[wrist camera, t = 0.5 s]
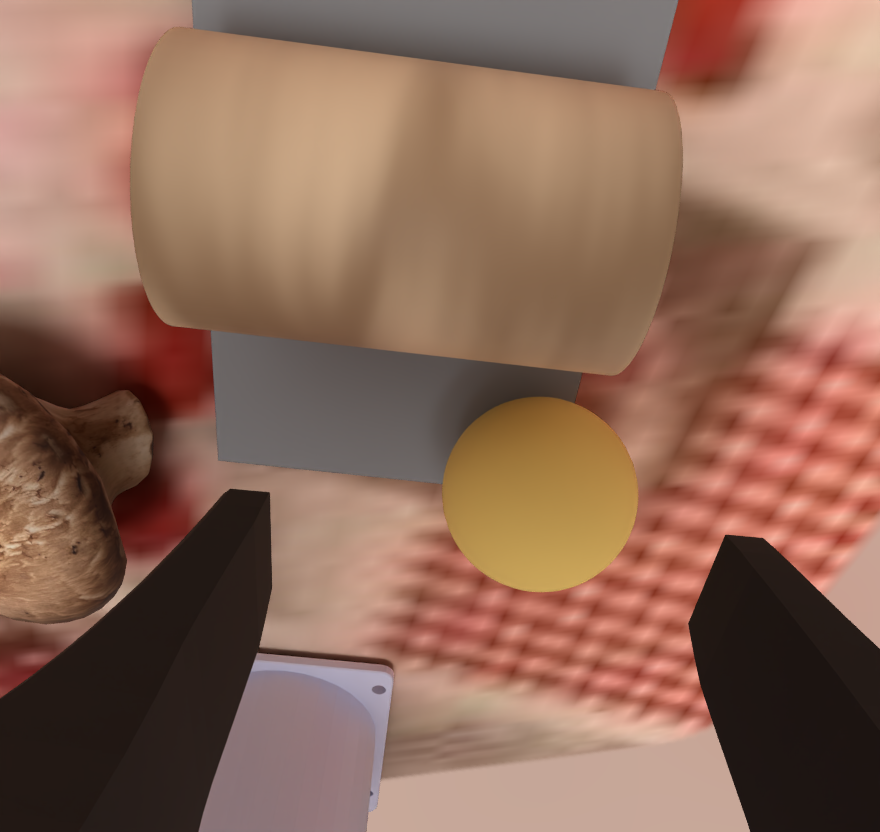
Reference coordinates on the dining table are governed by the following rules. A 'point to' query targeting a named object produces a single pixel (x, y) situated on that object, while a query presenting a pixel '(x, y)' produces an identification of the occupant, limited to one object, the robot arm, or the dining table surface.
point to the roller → (401, 202)
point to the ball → (540, 494)
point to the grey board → (390, 372)
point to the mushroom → (65, 501)
